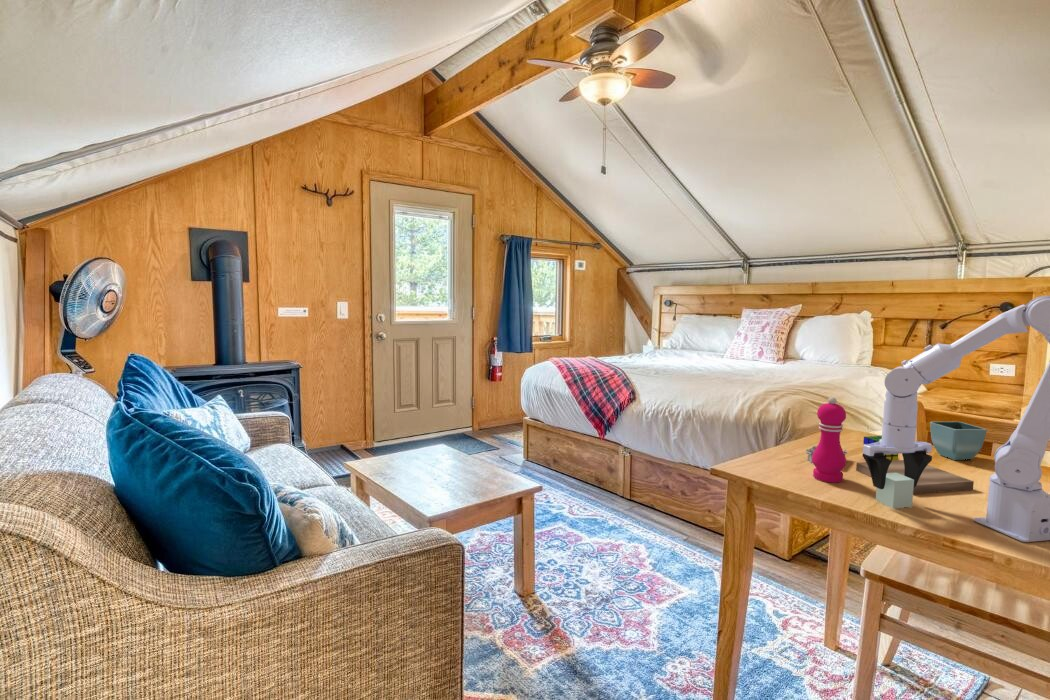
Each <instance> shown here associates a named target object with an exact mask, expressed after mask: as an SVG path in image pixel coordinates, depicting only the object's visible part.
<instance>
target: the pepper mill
mask: <svg viewBox="0 0 1050 700" xmlns="http://www.w3.org/2000/svg"><path fill="white" fill-rule="evenodd" d="M816 415H817V418H818V419H819V421H820V422H818V428H819V430H820V439H819V441H818V444H817V445H818V446H817V445H816V446H817V447H816V449H815V450H814V452H813V455H812V462H813V464H812V465H813V466H814V468H813V469H812V470H813V471H812V472H813V474H812V476H813V478H814V479H815V480H818V481H820V480H821V482H824V481H825V482H826V483H831V484H833V483H836V484H837V482H838V483H841V482H843V480H844V473H843V471H842V470H843V469H845V467H846V466H847V458H846V454H844V452H843V451H844V450H843V448H842V445H841V438H840V437H841V432H843V430H844V428H843V427H844V425H843V424H842V423H843V422H844V421H846V419H847V412H846V410H845V408H844V407H843V406H842V405H840V404H838V403H837V399H836V397H835V396H834V397H833V396H831V397H828V399H827V402H826V403H823V404H822V405H820V406H819V407H818V409H817V412H816ZM825 482H824V483H825Z"/></svg>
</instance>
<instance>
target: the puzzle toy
mask: <svg viewBox="0 0 1050 700" xmlns="http://www.w3.org/2000/svg"><path fill="white" fill-rule="evenodd" d="M880 439H882V435H873V436H872V435H871V436H863V445H865V444H872V443H876V442H879V440H880ZM863 445H862V446H863ZM884 456H885V458H887V459H889V460H891V461H895V460H899V454H884Z"/></svg>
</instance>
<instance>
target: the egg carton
mask: <svg viewBox="0 0 1050 700" xmlns="http://www.w3.org/2000/svg"><path fill="white" fill-rule="evenodd" d="M817 446H818V444H816V445H812V447H810V448H809V449H808V448H807V449H805V450H806V451H805V452H806V455H807V462H808V461H809V463H810V464H812V463H813V462H812V455H813V452H814V450H815V449H816V447H817ZM847 451H848V450H847V449H845V450H843V452H844V454H845V455H847V453H848V452H847Z"/></svg>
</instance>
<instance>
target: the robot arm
mask: <svg viewBox="0 0 1050 700" xmlns="http://www.w3.org/2000/svg"><path fill="white" fill-rule="evenodd" d="M1029 326H1030V327H1031V328H1033V329H1034V330H1035V331H1037V332H1038V333H1039V334H1042V335H1043V336H1044V339H1045V340H1046V341H1047V343H1048V344H1049V345H1050V295H1043V296H1042V295H1041V296H1038V297H1035V298H1033V299H1031V300H1030V301H1029V302H1028V303H1026V305H1025V304H1021V305H1018V306H1015V307H1014V308H1011V309H1009V310H1007V311H1004V312H1002V313H1000V314H998V315H996V316H994V317H993V318H992V319H990V320H989V321H986V322H985V323H983V324H982V325H979V327H977V328H974V329H973V330H972V331H970V332H969V333H967V334H965V335H964V336H962V337H960V338H958V339H957V340H955V341H953V342H952V343H950V344H946V343H936V344H935V345H932V344H929V345H926V346H925V347H924V348H923V349H924V351H923V352H921V353H919V354H918V355H916V356H914V357H912V358H911V359H909V360H908V359H905V360H903V361H901V362H900V363H901V365H902V366H896V367H895V368H893V369H892V370H891V371H889V372H888V373H887V374H886V376H885V378H884V387H885V388H886V391H885V394H884V395H885V400H884V402H883V403H884V405H883V417H882V430H881V433H882V434H881V436H882V439H880V440H879V442H876V443H872V444H865V445H862V457H863V459H864V462H866V463H867V465H868V467H869V470H870V473H871V477H870V478H871V481H872V486H873V487H874V488H879V489H884V486H885V481H886V474H887V470H888V468H889V465H890V464H891V462H892V461H891V460H889V459H887V458H885V456H884V454H898V455H899V454H901V456H902V460H904V467H905V471H904V476H906V477H909V478H911V479H913V480H914V487H916V485H917V483H918V480H919V478H920V476H921V474H922V472H923V470H924V469H925V467H926V466H927V465H929V464H930V463H931V462H932V459H933V456H932V455H930V454H931V453H932V449H933V448H932V447H933V443H929V442H926V441H916V431H917V422H918V420H917V419H918V410H919V409H918V408H919V405H918V390H919V388H921V386H922V385H929V384H931V383H933V382H934V381H936V380H938V379H941V378H942V377H944V376H946V375H948V374H949V373H951V372H953V371H955V370H956V369H958V368H961V367H960V366H961V363H962V358H964V357H965V356H967V355H969V354H971V353H973V352H975V351H977V350H978V349H980V348H983V347H984V346H986V345H988V344H990V343H992V342H994V341H996V340H998V339H1000V338H1002V337H1003V336H1005V335H1009V334H1021V333H1029V331H1028V328H1027V327H1029ZM1049 441H1050V361H1049V362H1048V364H1047V366H1046V368H1045V369H1044V372H1043V374H1042V376H1041V378H1040V380H1039V382H1038V384H1037V385H1036V388H1035V390H1034V392H1033V393H1032V395H1031V398H1030V400H1029V402H1028V404H1027V406H1026V408H1025V410H1024V412H1023V414H1022V416H1021V418H1020V420H1019V422H1018V423H1017V426H1016V429H1014V431H1013V432H1012V433H1011V435H1010V437H1009V439H1008V440H1007V441H1006V442H1005V443H1004V444H1002V445H1001V446H999V447H997V449H996V450H995V453H994V455H993V456H994V473H993V474H990V476H989V484H988V494H987V507H986V514H985V515H986V516H983V517H982V516H980V517H973V521H974V522H976V523H979V524H980V525H983V526H984V527H988V528H990V529H992V530H995V531H997V532H999V533H1001V534H1004V535H1006V536H1009V537H1011V538H1012V539H1016V540H1018V541H1019V542H1022V543H1030V542H1031V543H1032V542H1033V543H1034V542H1041V541H1042V542H1043V541H1050V494H1049V493H1048V492H1046V491H1045V490H1044V489H1043V488H1042V487H1043V485H1042V482H1041V479H1042V476H1043V472H1042V467H1041V466H1042V461H1043V459H1044V457H1045V454H1046V450H1047V447H1048V443H1049Z"/></svg>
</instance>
